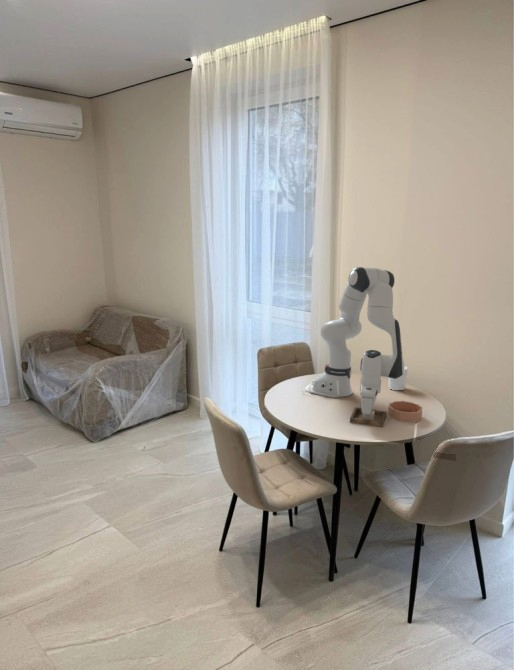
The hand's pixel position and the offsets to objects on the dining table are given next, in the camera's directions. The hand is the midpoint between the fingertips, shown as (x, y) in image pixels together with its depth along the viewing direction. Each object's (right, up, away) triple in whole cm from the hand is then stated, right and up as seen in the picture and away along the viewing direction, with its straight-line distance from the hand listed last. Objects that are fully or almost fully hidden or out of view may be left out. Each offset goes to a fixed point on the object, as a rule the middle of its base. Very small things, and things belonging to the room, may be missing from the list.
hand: (368, 416), depth 218 cm
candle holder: (+25, +7, +44) cm, 52 cm away
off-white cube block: (0, -1, 0) cm, 1 cm away
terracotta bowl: (+18, -1, +5) cm, 19 cm away
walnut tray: (0, -2, 0) cm, 2 cm away
